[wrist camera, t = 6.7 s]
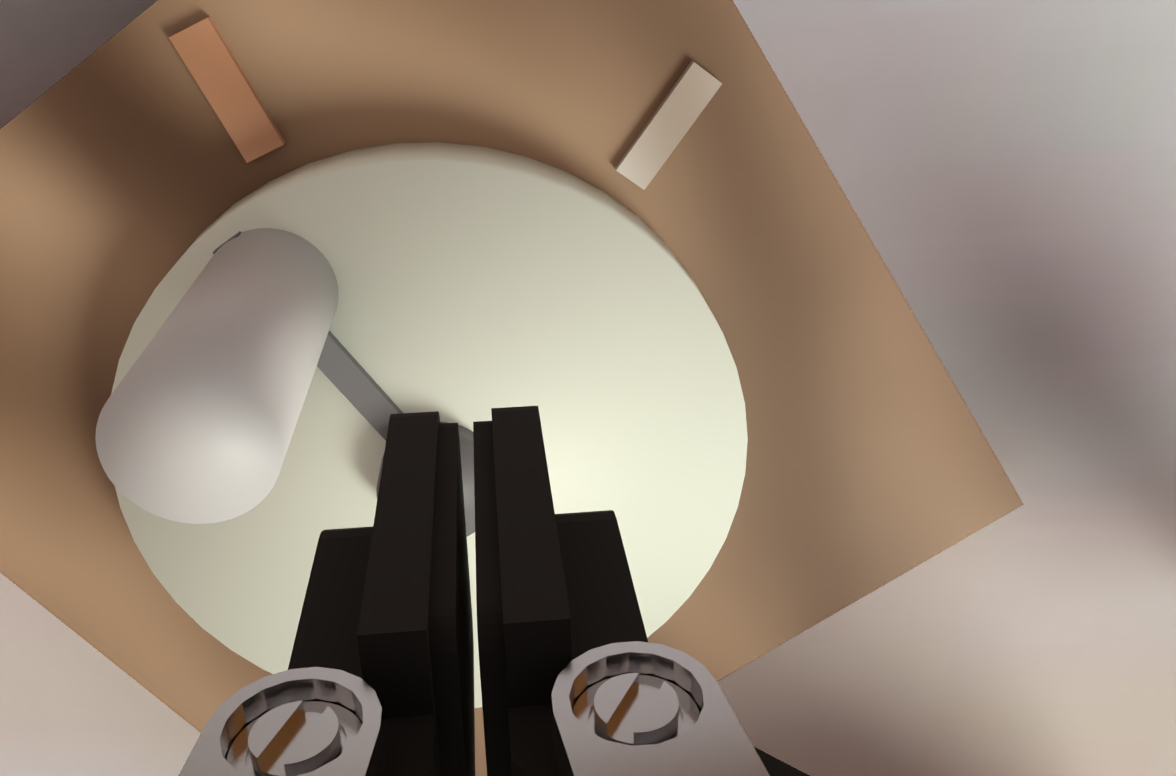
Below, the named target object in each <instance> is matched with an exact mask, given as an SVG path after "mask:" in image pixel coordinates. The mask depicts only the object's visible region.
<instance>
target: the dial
mask: <svg viewBox="0 0 1176 776" xmlns="http://www.w3.org/2000/svg"><path fill="white" fill-rule="evenodd" d="M522 406H538V408H539V415H540V421H541V428H542V434H543V441H544V447H545V454H546V460H547V467H548V473H549V480H550V486H551V493H552V499H553V506H554V512H555V514H563V513H577V512H592V511H607V510H613V511H614V513H615V516H616V518H617V522H618V526H619V530H620V534H621V538H622V542H623V546H624V550H625V554H626V557H627V561H628V565H629V569H630V573H631V577H632V581H633V585H634V589H635V592H636V596H637V600H638V604H639V608H640V612H641V616H642V620H643V624H644V628H645V631H646V635H647V638H648V637H649V636H650V635H651V634H652V633H654V632H655V631H656V630H657V629H658V628H660V627H661V626H662V625H663V624H664V623H665V622H667V621H668V619H669V618H670V617H671V616H672V615H673V614H674V613H675V612H676V611H677V610H678V609H679V608H680V607H681V606H682V604H683V603H684V602H685V601H686V600H687V599H688V598H689V597H690V596H691V594H692V593H693V592H694V590H695V589H696V587H697V586H698V585H699V583H700V582H701V580H702V579H703V578H704V576H705V575H706V573H707V572H708V571H709V569H710V568H711V566H712V564H713V562H714V560H715V558H716V557H717V555H718V553H719V551H720V549H721V547H722V545H723V544H724V542H725V540H726V538H727V535H728V532H729V530H730V527H731V524H732V522H733V519H734V516H735V513H736V511H737V508H738V504H739V500H740V495H741V491H742V486H743V482H744V477H745V471H746V457H747V443H748V435H747V422H746V410H745V401H744V397H743V393H742V388H741V384H740V380H739V375H738V371H737V367H736V365H735V362H734V360H733V357H732V355H731V352H730V349H729V347H728V344H727V342H726V339H725V337H724V334H723V332H722V330H721V328H720V327H719V325H718V323H717V321H716V319H715V317H714V315H713V313H712V312H711V310H710V308H709V306H708V304H707V303H706V301H705V299H704V297H703V296H702V294H701V292H700V290H699V289H698V287H697V285H696V283H695V282H694V280H693V278H692V277H691V275H690V273H689V272H688V271H687V269H686V268H685V267H684V266H683V264H682V263H681V262H680V260H679V259H678V258H677V257H676V255H675V254H674V253H673V252H672V250H671V249H670V248H669V246H668V245H667V244H666V243H665V242H664V241H663V240H662V239H661V238H660V237H659V236H658V235H657V234H656V233H655V232H654V231H653V230H652V229H651V228H650V227H648V226H647V225H646V224H645V223H644V222H643V221H642V220H641V219H640V218H639V217H638V216H637V215H635V214H634V213H633V212H631V211H630V210H629V209H627V208H626V207H624V206H623V205H622V204H620V203H619V202H618V201H616V200H615V199H613V198H612V197H611V196H609V195H608V194H606V193H605V192H604V191H602V190H600V189H598V188H596V187H594V186H592V185H591V184H589V183H587V182H585V181H583V180H581V179H579V178H577V177H576V176H574V175H572V174H570V173H568V172H566V171H563V170H561V169H558V168H555V167H553V166H550V165H547V164H545V163H542V162H540V161H537V160H534V159H532V158H529V157H526V156H522V155H518V154H513V153H509V152H505V151H501V150H496V149H492V148H488V147H483V146H473V145H463V144H454V143H444V142H424V143H394V144H388V145H381V146H375V147H369V148H363V149H357V150H351V151H347V152H344V153H341V154H337V155H334V156H331V157H328V158H324V159H321V160H318V161H314V162H311V163H308V164H306V165H304V166H302V167H299V168H297V169H295V170H293V171H291V172H288V173H286V174H284V175H282V176H280V177H278V178H275V179H273V180H271V181H269V182H267V183H266V184H264V185H263V186H261V187H260V188H258V189H257V190H255V191H254V192H252V193H250V194H249V195H247V196H246V197H244V198H243V199H241V200H240V201H238V202H236V203H235V204H233V205H232V206H231V207H230V208H229V209H228V210H227V211H225V212H224V213H223V214H222V215H221V216H220V217H219V218H217V219H216V220H215V221H214V222H213V223H212V224H211V225H209V226H208V227H207V228H206V229H205V230H204V231H203V232H202V233H201V234H200V235H199V236H198V238H197V239H196V240H195V241H194V242H193V243H192V245H191V246H190V247H189V248H188V249H187V251H186V252H185V253H184V254H183V255H182V256H181V258H180V259H179V260H178V261H177V262H176V264H175V265H174V266H173V267H172V269H171V270H170V271H169V272H168V273H167V275H166V276H165V277H164V278H163V280H162V281H161V282H160V283H159V284H158V286H157V287H156V288H155V290H154V291H153V293H152V295H151V296H150V298H149V300H148V301H147V303H146V304H145V306H144V308H143V309H142V311H141V313H140V314H139V316H138V318H137V319H136V321H135V322H134V325H133V327H132V329H131V332H130V334H129V337H128V339H127V342H126V344H125V347H124V349H123V351H122V354H121V356H120V359H119V362H118V367H117V371H116V375H115V380H114V384H113V388H112V393H111V396H110V397H109V399H108V400H107V402H106V403H105V405H104V406H103V408H102V410H101V413H100V415H99V418H98V421H97V426H96V436H95V439H96V449H97V453H98V457H99V460H100V462H101V465H102V467H103V469H104V471H105V473H106V474H107V476H108V478H109V479H110V480H111V482H112V483H113V484H114V486H115V489H116V493H117V497H118V501H119V505H120V509H121V511H122V513H123V516H124V518H125V520H126V523H127V525H128V528H129V530H130V532H131V535H132V537H133V540H134V542H135V544H136V545H137V547H138V549H139V550H140V552H141V554H142V556H143V557H144V559H145V561H146V562H147V564H148V566H149V567H150V569H151V571H152V572H153V574H154V575H155V576H156V578H157V579H158V580H159V582H160V583H161V584H162V585H163V587H164V588H165V589H166V590H167V592H168V593H169V594H170V595H171V597H172V598H173V599H174V600H175V602H176V603H177V604H178V605H179V606H180V607H181V608H182V609H183V610H184V611H185V612H186V613H187V614H188V615H189V616H190V617H191V618H193V619H194V620H195V621H196V622H197V623H198V624H199V625H200V626H201V627H202V628H203V629H204V630H205V631H207V632H208V633H209V634H211V635H212V636H213V637H215V638H216V639H217V640H218V641H220V642H221V643H222V644H224V645H225V646H226V647H228V648H229V649H230V650H232V651H233V652H235V653H237V654H238V655H240V656H242V657H243V658H245V659H247V660H248V661H250V662H252V663H253V664H255V665H257V666H258V667H260V668H262V669H263V670H265V671H268V672H270V673H272V674H276V673H279V672H283V671H286V670H288V666H289V662H290V658H291V654H292V649H293V645H294V641H295V637H296V632H297V628H298V624H299V620H300V616H301V611H302V607H303V603H304V599H305V594H306V590H307V586H308V582H309V577H310V573H311V569H312V565H313V560H314V556H315V552H316V548H317V543H318V539H319V536H320V534H321V531H323V530H327V529H342V528H357V527H371V526H373V525H374V518H375V512H376V505H377V498H378V492H379V485H380V479H381V472H382V465H383V459H384V452H385V445H386V439H387V432H388V425H389V419H390V414H401V413H418V412H435V411H439V415H440V424H443V423H458V426H459V438H460V452H461V466H462V480H463V494H464V508H465V522H466V535H467V549H468V563H469V577H470V591H471V605H472V620H473V642H474V708H480V707H482V694H481V680H480V666H479V650H478V631H477V604H476V550H475V497H474V443H473V422H477V421H492V413H491V408H505V407H522Z"/></svg>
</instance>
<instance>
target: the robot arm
mask: <svg viewBox="0 0 1176 776" xmlns="http://www.w3.org/2000/svg"><path fill="white" fill-rule="evenodd" d="M491 413H492V421H477V422H473V443H474V497H475V550H476V604H477V631H478V650H479V666H480V680H481V694H482V709H483V723H484V737H485V752H486V766H487V776H809V775H807V774H805V773H803V772H801V771H799V770H797V769H795V768H794V767H792V766H790V765H788V764H786V763H784V762H782V761H780V760H778V759H776V758H774V757H772V756H770V755H769V754H767V753H765V752H763V751H761V750H759V749H757V748H755V747H753V745H752V743H751V741H750V739H749V738H748V736H747V734H746V732H745V731H744V729H743V727H742V725H741V723H740V722H739V720H738V718H737V716H736V715H735V713H734V711H733V709H732V707H731V706H730V704H729V702H728V700H727V699H726V697H725V695H724V693H723V691H722V690H721V688H720V686H719V684H718V683H717V681H716V679H715V678H714V677H713V676H712V675H711V673H710V672H709V671H708V670H707V669H706V667H705V666H704V665H703V664H702V663H700V662H698V661H697V660H695V659H694V658H692V657H691V656H689V655H688V654H686V653H685V652H682V651H679V650H677V649H674V648H671V647H668V646H665V645H662V644H656V643H648V639H647V635H646V631H645V628H644V624H643V620H642V616H641V612H640V608H639V604H638V600H637V596H636V592H635V589H634V585H633V581H632V577H631V573H630V569H629V565H628V561H627V557H626V554H625V550H624V546H623V542H622V538H621V534H620V530H619V526H618V522H617V518H616V516H615V513H614V511H613V510H607V511H592V512H577V513H563V514H555V512H554V506H553V499H552V493H551V486H550V480H549V473H548V467H547V460H546V454H545V447H544V441H543V434H542V428H541V421H540V415H539V408H538V406H522V407H505V408H491ZM179 776H475V710H474V642H473V620H472V605H471V591H470V577H469V563H468V549H467V535H466V522H465V508H464V494H463V480H462V466H461V452H460V438H459V426H458V423H443V424H440V415H439V411H435V412H418V413H401V414H390V419H389V425H388V432H387V439H386V445H385V452H384V459H383V465H382V472H381V479H380V485H379V492H378V498H377V505H376V512H375V518H374V525H373V526H371V527H357V528H342V529H327V530H323V531H321V534H320V536H319V539H318V543H317V548H316V552H315V556H314V560H313V565H312V569H311V573H310V577H309V582H308V586H307V590H306V594H305V599H304V603H303V607H302V611H301V616H300V620H299V624H298V628H297V632H296V637H295V641H294V645H293V649H292V654H291V658H290V662H289V666H288V670H286V671H283V672H279V673H276V674H272V675H268V676H265V677H263V678H261V679H259V680H257V681H255V682H253V683H251V684H249V685H247V686H245V687H243V688H241V689H240V690H238V691H237V692H236V693H235V694H233V695H232V696H231V697H230V698H228V699H227V700H226V701H224V702H223V703H222V704H221V705H220V706H219V707H218V709H217V710H216V711H215V713H214V714H213V715H212V717H211V718H210V719H209V721H208V722H207V723H206V725H205V727H204V729H203V730H202V732H201V734H200V736H199V738H198V740H197V742H196V744H195V746H194V747H193V749H192V751H191V753H190V755H189V757H188V759H187V761H186V763H185V764H184V766H183V768H182V770H181V772H180V774H179Z"/></svg>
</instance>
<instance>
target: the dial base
mask: <svg viewBox="0 0 1176 776" xmlns="http://www.w3.org/2000/svg"><path fill="white" fill-rule="evenodd" d="M424 142H444V143H454V144H463V145H473V146H483V147H488V148H492V149H496V150H501V151H505V152H509V153H513V154H518V155H522V156H526V157H529V158H532V159H534V160H537V161H540V162H542V163H545V164H547V165H550V166H553V167H555V168H558V169H561V170H563V171H566V172H568V173H570V174H572V175H574V176H576V177H577V178H579V179H581V180H583V181H585V182H587V183H589V184H591V185H592V186H594V187H596V188H598V189H600V190H602V191H604V192H605V193H606V194H608V195H609V196H611V197H612V198H613V199H615V200H616V201H618V202H619V203H620V204H622V205H623V206H624V207H626V208H627V209H629V210H630V211H631V212H633V213H634V214H635V215H637V216H638V217H639V218H640V219H641V220H642V221H643V222H644V223H645V224H646V225H647V226H648V227H650V228H651V229H652V230H653V231H654V232H655V233H656V234H657V235H658V236H659V237H660V238H661V239H662V240H663V241H664V242H665V243H666V244H667V245H668V246H669V248H670V249H671V250H672V252H673V253H674V254H675V255H676V257H677V258H678V259H679V260H680V262H681V263H682V264H683V266H684V267H685V268H686V269H687V271H688V272H689V273H690V275H691V277H692V278H693V280H694V282H695V283H696V285H697V287H698V289H699V290H700V292H701V294H702V296H703V297H704V299H705V301H706V303H707V304H708V306H709V308H710V310H711V312H712V313H713V315H714V317H715V319H716V321H717V323H718V325H719V327H720V328H721V330H722V332H723V334H724V337H725V339H726V342H727V344H728V347H729V349H730V352H731V355H732V357H733V360H734V362H735V365H736V367H737V371H738V375H739V380H740V384H741V388H742V393H743V397H744V401H745V410H746V422H747V435H748V443H747V457H746V471H745V477H744V482H743V486H742V491H741V495H740V500H739V504H738V508H737V511H736V513H735V516H734V519H733V522H732V524H731V527H730V530H729V532H728V535H727V538H726V540H725V542H724V544H723V545H722V547H721V549H720V551H719V553H718V555H717V557H716V558H715V560H714V562H713V564H712V566H711V568H710V569H709V571H708V572H707V573H706V575H705V576H704V578H703V579H702V580H701V582H700V583H699V585H698V586H697V587H696V589H695V590H694V592H693V593H692V594H691V596H690V597H689V598H688V599H687V600H686V601H685V602H684V603H683V604H682V606H681V607H680V608H679V609H678V610H677V611H676V612H675V613H674V614H673V615H672V616H671V617H670V618H669V619H668V621H667V622H665V623H664V624H663V625H662V626H661V627H660V628H658V629H657V630H656V631H655V632H654V633H652V634H651V635H650V636H649V637H648V638H647V639H648V643H656V644H662V645H665V646H668V647H671V648H674V649H677V650H679V651H682V652H685V653H686V654H688V655H689V656H691V657H692V658H694V659H695V660H697V661H698V662H700V663H702V664H703V665H704V666H705V667H706V669H707V670H708V671H709V672H710V673H711V675H712V676H713V677H714V678H715V679H716V681H718V680H720V679H722V678H724V677H725V676H727V675H729V674H731V673H732V672H734V671H736V670H737V669H739V668H741V667H743V666H744V665H746V664H748V663H750V662H751V661H753V660H755V659H757V658H758V657H760V656H762V655H763V654H765V653H767V652H769V651H770V650H772V649H774V648H776V647H777V646H779V645H781V644H783V643H784V642H786V641H788V640H789V639H791V638H793V637H795V636H796V635H798V634H800V633H802V632H803V631H805V630H807V629H808V628H810V627H812V626H814V625H815V624H817V623H819V622H821V621H822V620H824V619H826V618H828V617H829V616H831V615H833V614H834V613H836V612H838V611H840V610H841V609H843V608H845V607H847V606H848V605H850V604H852V603H853V602H855V601H857V600H859V599H860V598H862V597H864V596H866V595H867V594H869V593H871V592H873V591H874V590H876V589H878V588H879V587H881V586H883V585H885V584H886V583H888V582H890V581H892V580H893V579H895V578H897V577H899V576H900V575H902V574H904V573H905V572H907V571H909V570H911V569H912V568H914V567H916V566H918V565H919V564H921V563H923V562H924V561H926V560H928V559H930V558H931V557H933V556H935V555H937V554H938V553H940V552H942V551H944V550H945V549H947V548H949V547H950V546H952V545H954V544H956V543H957V542H959V541H961V540H963V539H964V538H966V537H968V536H969V535H971V534H973V533H975V532H976V531H978V530H980V529H982V528H983V527H985V526H987V525H989V524H990V523H992V522H994V521H995V520H997V519H999V518H1001V517H1002V516H1004V515H1006V514H1008V513H1009V512H1011V511H1013V510H1015V509H1016V508H1018V507H1020V506H1021V505H1023V503H1022V501H1021V499H1020V497H1019V496H1018V494H1017V492H1016V490H1015V489H1014V487H1013V485H1012V483H1011V482H1010V480H1009V478H1008V477H1007V475H1006V473H1005V471H1004V470H1003V468H1002V466H1001V464H1000V463H999V461H998V459H997V457H996V456H995V454H994V452H993V451H992V449H991V447H990V445H989V444H988V442H987V440H986V438H985V437H984V435H983V433H982V431H981V430H980V428H979V426H978V425H977V423H976V421H975V419H974V418H973V416H972V414H971V412H970V411H969V409H968V407H967V405H966V404H965V402H964V400H963V399H962V397H961V395H960V393H959V392H958V390H957V388H956V386H955V385H954V383H953V381H952V380H951V378H950V376H949V374H948V373H947V371H946V369H945V367H944V366H943V364H942V362H941V360H940V359H939V357H938V355H937V354H936V352H935V350H934V348H933V347H932V345H931V343H930V341H929V340H928V338H927V336H926V334H925V333H924V331H923V329H922V328H921V326H920V324H919V322H918V321H917V319H916V317H915V315H914V314H913V312H912V310H911V308H910V307H909V305H908V303H907V302H906V300H905V298H904V296H903V295H902V293H901V291H900V289H899V288H898V286H897V284H896V282H895V281H894V279H893V277H892V276H891V274H890V272H889V270H888V269H887V267H886V265H885V263H884V262H883V260H882V258H881V257H880V255H879V253H878V251H877V250H876V248H875V246H874V244H873V243H872V241H871V239H870V237H869V236H868V234H867V232H866V231H865V229H864V227H863V225H862V224H861V222H860V220H859V218H858V217H857V215H856V213H855V211H854V210H853V208H852V206H851V205H850V203H849V201H848V199H847V198H846V196H845V194H844V192H843V191H842V189H841V187H840V185H839V184H838V182H837V180H836V179H835V177H834V175H833V173H832V172H831V170H830V168H829V166H828V165H827V163H826V161H825V159H824V158H823V156H822V154H821V153H820V151H819V149H818V147H817V146H816V144H815V142H814V140H813V139H812V137H811V135H810V134H809V132H808V130H807V128H806V127H805V125H804V123H803V121H802V120H801V118H800V116H799V114H798V113H797V111H796V109H795V108H794V106H793V104H792V102H791V101H790V99H789V97H788V95H787V94H786V92H785V90H784V88H783V87H782V85H781V83H780V82H779V80H778V78H777V76H776V75H775V73H774V71H773V69H772V68H771V66H770V64H769V62H768V61H767V59H766V57H765V56H764V54H763V52H762V50H761V49H760V47H759V45H758V43H757V42H756V40H755V38H754V36H753V35H752V33H751V31H750V30H749V28H748V26H747V24H746V23H745V21H744V19H743V17H742V16H741V14H740V12H739V10H738V9H737V7H736V5H735V4H734V2H733V0H157V1H156V2H155V3H154V4H152V5H151V6H150V7H149V8H148V9H146V10H145V11H144V12H143V13H141V14H140V15H139V16H138V17H137V18H135V19H134V20H133V21H132V22H130V23H129V24H128V25H127V26H126V27H124V28H123V29H122V30H121V31H120V32H118V33H117V34H116V35H115V36H113V37H112V38H111V39H110V40H109V41H107V42H106V43H105V44H104V45H102V46H101V47H100V48H99V49H98V50H96V51H95V52H94V53H93V54H92V55H90V56H89V57H88V58H87V59H85V60H84V61H83V62H82V63H81V64H79V65H78V66H77V67H76V68H74V69H73V70H72V71H71V72H70V73H68V74H67V75H66V76H65V77H63V78H62V79H61V80H60V81H59V82H57V83H56V84H55V85H54V86H53V87H51V88H50V89H49V90H48V91H46V92H45V93H44V94H43V95H42V96H40V97H39V98H38V99H37V100H35V101H34V102H33V103H32V104H31V105H29V106H28V107H27V108H26V109H24V110H23V111H22V112H21V113H20V114H18V115H17V116H16V117H15V118H14V119H12V120H11V121H10V122H9V123H7V124H6V125H5V126H4V127H3V128H1V129H0V572H1V573H2V574H3V575H4V576H6V577H7V578H8V579H9V580H11V581H12V582H13V583H14V584H16V585H17V586H18V587H19V588H21V589H22V590H23V591H24V592H26V593H27V594H28V595H29V596H31V597H32V598H33V599H34V600H36V601H37V602H38V603H39V604H41V605H42V606H43V607H44V608H46V609H47V610H48V611H49V612H51V613H52V614H53V615H54V616H56V617H57V618H58V619H59V620H61V621H62V622H63V623H64V624H66V625H67V626H68V627H69V628H71V629H72V630H73V631H74V632H76V633H77V634H78V635H79V636H81V637H82V638H83V639H84V640H86V641H87V642H88V643H89V644H91V645H92V646H93V647H94V648H96V649H97V650H98V651H99V652H101V653H102V654H103V655H104V656H106V657H107V658H108V659H109V660H111V661H112V662H113V663H114V664H116V665H117V666H118V667H119V668H121V669H122V670H123V671H124V672H126V673H127V674H128V675H129V676H131V677H132V678H133V679H134V680H136V681H137V682H138V683H139V684H141V685H142V686H143V687H144V688H146V689H147V690H148V691H149V692H151V693H152V694H153V695H154V696H156V697H157V698H158V699H159V700H161V701H162V702H163V703H164V704H166V705H167V706H168V707H169V708H171V709H172V710H173V711H174V712H176V713H177V714H178V715H179V716H181V717H182V718H183V719H184V720H186V721H187V722H188V723H189V724H191V725H192V726H193V727H194V728H196V729H197V730H198V731H199V732H202V730H203V729H204V727H205V725H206V723H207V722H208V721H209V719H210V718H211V717H212V715H213V714H214V713H215V711H216V710H217V709H218V707H219V706H220V705H221V704H222V703H223V702H224V701H226V700H227V699H228V698H230V697H231V696H232V695H233V694H235V693H236V692H237V691H238V690H240V689H241V688H243V687H245V686H247V685H249V684H251V683H253V682H255V681H257V680H259V679H261V678H263V677H265V676H268V675H272V673H270V672H268V671H265V670H263V669H262V668H260V667H258V666H257V665H255V664H253V663H252V662H250V661H248V660H247V659H245V658H243V657H242V656H240V655H238V654H237V653H235V652H233V651H232V650H230V649H229V648H228V647H226V646H225V645H224V644H222V643H221V642H220V641H218V640H217V639H216V638H215V637H213V636H212V635H211V634H209V633H208V632H207V631H205V630H204V629H203V628H202V627H201V626H200V625H199V624H198V623H197V622H196V621H195V620H194V619H193V618H191V617H190V616H189V615H188V614H187V613H186V612H185V611H184V610H183V609H182V608H181V607H180V606H179V605H178V604H177V603H176V602H175V600H174V599H173V598H172V597H171V595H170V594H169V593H168V592H167V590H166V589H165V588H164V587H163V585H162V584H161V583H160V582H159V580H158V579H157V578H156V576H155V575H154V574H153V572H152V571H151V569H150V567H149V566H148V564H147V562H146V561H145V559H144V557H143V556H142V554H141V552H140V550H139V549H138V547H137V545H136V544H135V542H134V540H133V537H132V535H131V532H130V530H129V528H128V525H127V523H126V520H125V518H124V516H123V513H122V511H121V509H120V505H119V501H118V497H117V493H116V489H115V486H114V484H113V483H112V482H111V480H110V479H109V478H108V476H107V474H106V473H105V471H104V469H103V467H102V465H101V462H100V460H99V457H98V453H97V449H96V439H95V436H96V426H97V421H98V418H99V415H100V413H101V410H102V408H103V406H104V405H105V403H106V402H107V400H108V399H109V397H110V396H111V393H112V388H113V384H114V380H115V375H116V371H117V367H118V362H119V359H120V356H121V354H122V351H123V349H124V347H125V344H126V342H127V339H128V337H129V334H130V332H131V329H132V327H133V325H134V322H135V321H136V319H137V318H138V316H139V314H140V313H141V311H142V309H143V308H144V306H145V304H146V303H147V301H148V300H149V298H150V296H151V295H152V293H153V291H154V290H155V288H156V287H157V286H158V284H159V283H160V282H161V281H162V280H163V278H164V277H165V276H166V275H167V273H168V272H169V271H170V270H171V269H172V267H173V266H174V265H175V264H176V262H177V261H178V260H179V259H180V258H181V256H182V255H183V254H184V253H185V252H186V251H187V249H188V248H189V247H190V246H191V245H192V243H193V242H194V241H195V240H196V239H197V238H198V236H199V235H200V234H201V233H202V232H203V231H204V230H205V229H206V228H207V227H208V226H209V225H211V224H212V223H213V222H214V221H215V220H216V219H217V218H219V217H220V216H221V215H222V214H223V213H224V212H225V211H227V210H228V209H229V208H230V207H231V206H232V205H233V204H235V203H236V202H238V201H240V200H241V199H243V198H244V197H246V196H247V195H249V194H250V193H252V192H254V191H255V190H257V189H258V188H260V187H261V186H263V185H264V184H266V183H267V182H269V181H271V180H273V179H275V178H278V177H280V176H282V175H284V174H286V173H288V172H291V171H293V170H295V169H297V168H299V167H302V166H304V165H306V164H308V163H311V162H314V161H318V160H321V159H324V158H328V157H331V156H334V155H337V154H341V153H344V152H347V151H351V150H357V149H363V148H369V147H375V146H381V145H388V144H394V143H424ZM474 710H475V776H487V766H486V752H485V737H484V723H483V709H482V707H480V708H474Z"/></svg>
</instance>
